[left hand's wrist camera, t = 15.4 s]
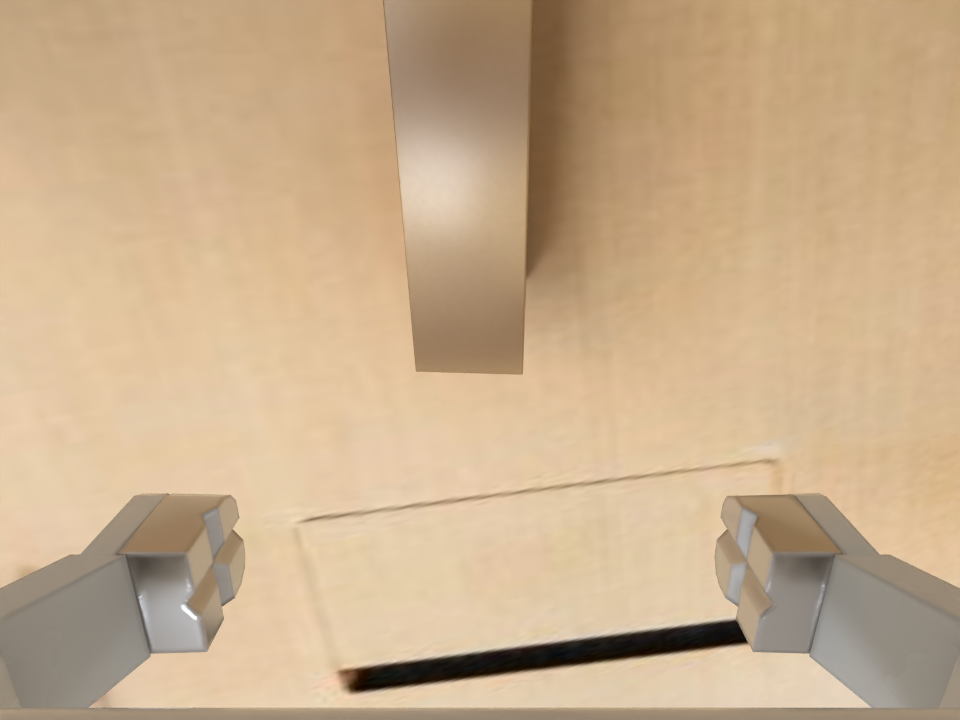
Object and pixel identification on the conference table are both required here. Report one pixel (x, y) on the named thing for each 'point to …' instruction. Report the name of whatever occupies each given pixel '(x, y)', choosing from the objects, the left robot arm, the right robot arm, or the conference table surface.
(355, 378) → the conference table surface
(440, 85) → the bar
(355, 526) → the conference table surface
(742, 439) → the conference table surface
